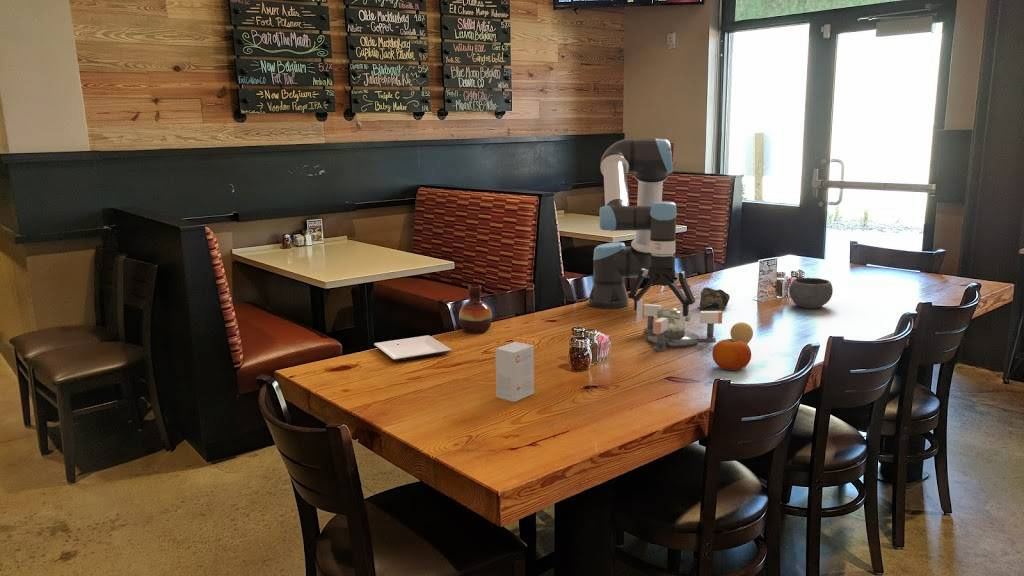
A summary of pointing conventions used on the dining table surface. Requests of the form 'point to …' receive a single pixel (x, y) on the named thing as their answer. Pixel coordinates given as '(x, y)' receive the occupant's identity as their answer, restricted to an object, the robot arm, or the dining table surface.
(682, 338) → the tribrach
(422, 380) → the dining table surface
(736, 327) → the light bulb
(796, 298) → the bowl
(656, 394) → the dining table surface
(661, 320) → the knob
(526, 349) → the small box
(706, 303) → the fossil
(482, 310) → the vase
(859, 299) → the dining table surface
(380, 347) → the plate
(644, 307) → the knob
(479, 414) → the dining table surface
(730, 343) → the fruit
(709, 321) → the knob
